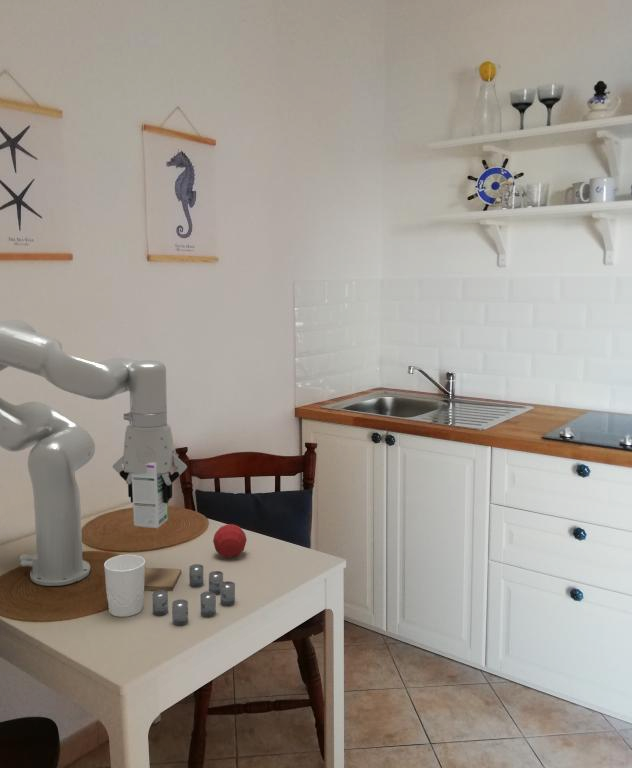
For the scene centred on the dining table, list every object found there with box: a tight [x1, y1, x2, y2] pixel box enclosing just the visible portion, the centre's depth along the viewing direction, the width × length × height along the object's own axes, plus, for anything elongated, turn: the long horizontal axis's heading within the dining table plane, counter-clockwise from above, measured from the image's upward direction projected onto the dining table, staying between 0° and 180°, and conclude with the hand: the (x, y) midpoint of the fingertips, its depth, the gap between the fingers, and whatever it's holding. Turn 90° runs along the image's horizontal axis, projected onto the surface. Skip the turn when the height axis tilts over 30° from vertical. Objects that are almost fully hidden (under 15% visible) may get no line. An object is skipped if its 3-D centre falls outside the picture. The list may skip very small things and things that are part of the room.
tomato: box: [212, 524, 247, 558], centre depth 170 cm, size 8×8×8 cm
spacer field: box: [151, 563, 236, 627], centre depth 146 cm, size 16×20×4 cm
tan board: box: [144, 567, 182, 592], centre depth 156 cm, size 11×9×1 cm
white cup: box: [103, 554, 146, 618], centre depth 142 cm, size 8×8×10 cm
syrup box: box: [132, 462, 170, 529], centre depth 152 cm, size 6×6×14 cm
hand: (150, 500), depth 153 cm, fingers closed on syrup box, 6 cm apart
